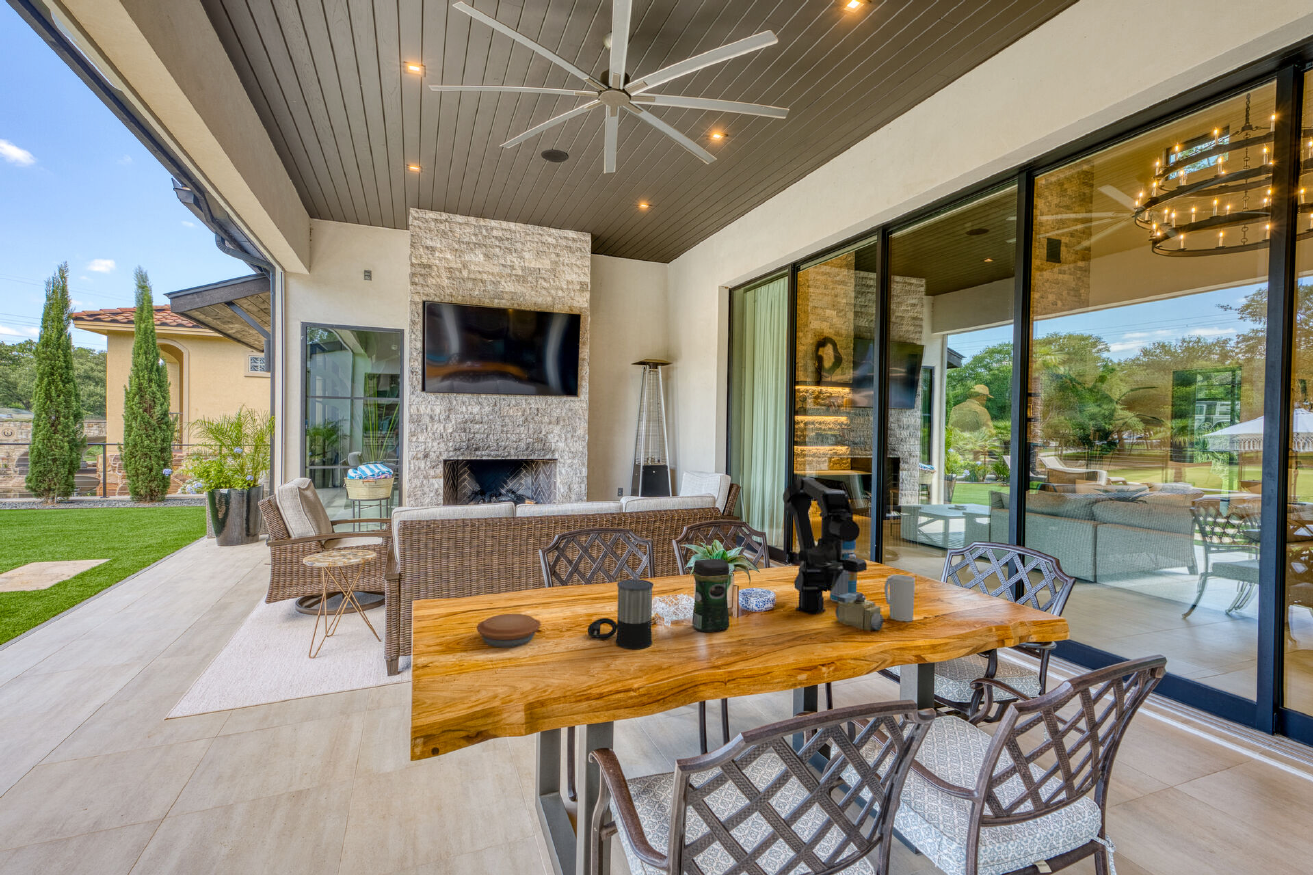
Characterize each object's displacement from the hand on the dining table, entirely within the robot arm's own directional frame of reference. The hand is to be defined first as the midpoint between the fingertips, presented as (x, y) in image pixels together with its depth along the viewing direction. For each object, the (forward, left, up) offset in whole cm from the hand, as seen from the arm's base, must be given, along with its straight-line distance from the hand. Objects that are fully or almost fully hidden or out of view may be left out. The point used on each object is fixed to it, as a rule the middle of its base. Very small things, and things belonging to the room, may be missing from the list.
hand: (830, 590), depth 160 cm
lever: (+5, +3, -3) cm, 6 cm away
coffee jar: (-18, -29, -10) cm, 36 cm away
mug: (+8, +23, -10) cm, 26 cm away
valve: (+5, +7, -9) cm, 13 cm away
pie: (-42, -76, -10) cm, 88 cm away
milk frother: (-25, -54, -10) cm, 61 cm away
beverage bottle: (-11, +25, -10) cm, 29 cm away
